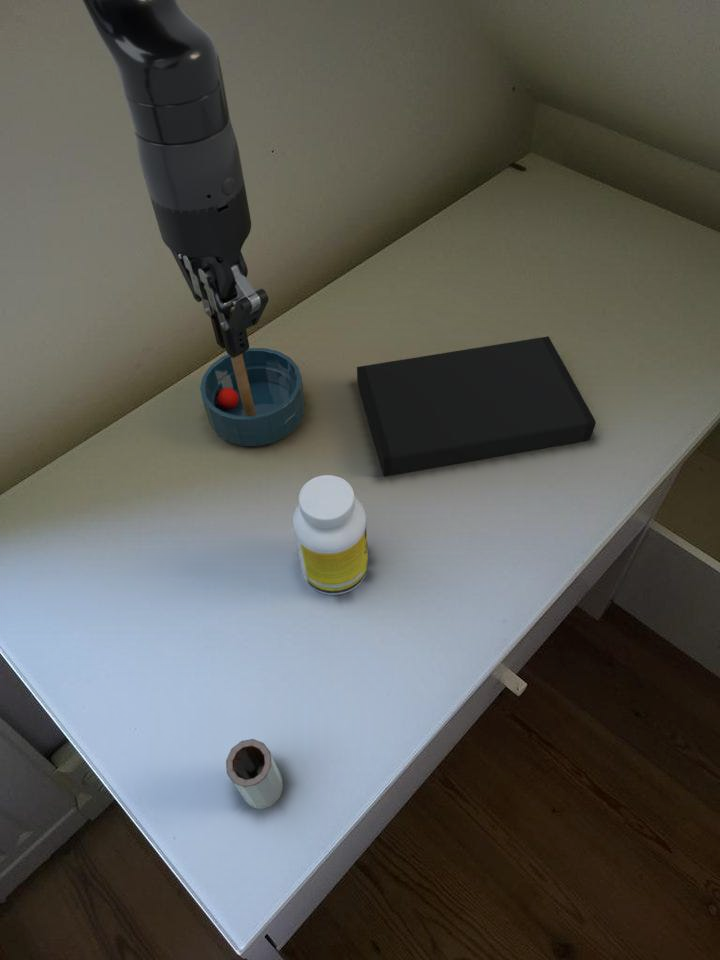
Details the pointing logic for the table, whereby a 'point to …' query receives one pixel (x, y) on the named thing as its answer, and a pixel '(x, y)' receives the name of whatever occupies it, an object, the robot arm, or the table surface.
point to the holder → (254, 773)
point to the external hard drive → (471, 405)
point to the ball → (227, 398)
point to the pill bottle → (331, 535)
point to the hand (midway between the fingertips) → (233, 347)
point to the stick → (243, 383)
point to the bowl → (256, 398)
